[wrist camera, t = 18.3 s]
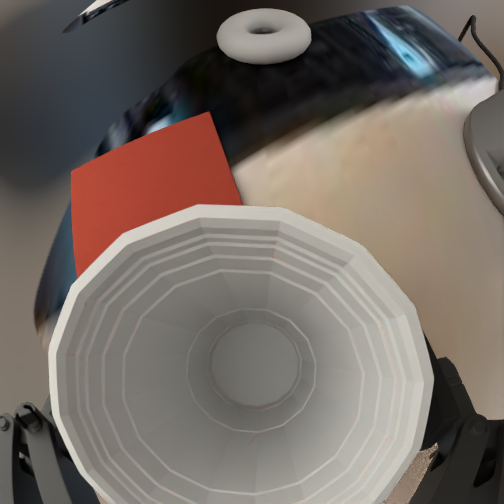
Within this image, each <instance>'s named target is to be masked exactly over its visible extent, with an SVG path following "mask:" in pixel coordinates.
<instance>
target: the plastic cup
mask: <svg viewBox="0 0 504 504" xmlns="http://www.w3.org/2000/svg"><path fill="white" fill-rule="evenodd" d="M48 360H49V384H50V397H51V408H52V415H53V418H54V420H55V422H56V425H57V427H58V429H59V432H60V434H61V436H62V439H63V441H64V443H65V445H66V447H67V449H68V451H69V453H70V455H71V457H72V459H73V461H74V463H75V465H76V467H77V469H78V471H79V472H80V474H81V475H82V476H83V477H84V479H85V480H86V481H87V482H88V483H89V484H90V485H91V486H92V487H93V488H94V489H95V490H96V491H97V492H98V493H99V494H100V495H101V496H102V497H103V498H104V499H105V500H106V501H107V502H108V503H109V504H382V503H383V502H384V500H385V499H386V498H387V496H388V495H389V494H390V493H391V491H392V490H393V489H394V487H395V486H396V485H397V483H398V482H399V480H400V479H401V478H402V476H403V475H404V473H405V472H406V470H407V469H408V467H409V466H410V464H411V463H412V461H413V460H414V458H415V456H416V455H417V453H418V452H419V450H420V448H421V446H422V442H423V437H424V433H425V429H426V424H427V419H428V414H429V409H430V403H431V397H432V391H433V384H434V375H433V371H432V366H431V362H430V358H429V354H428V350H427V346H426V342H425V339H424V335H423V331H422V328H421V324H420V321H419V318H418V314H417V311H416V308H415V306H414V304H413V303H412V302H411V301H410V299H409V298H408V297H407V296H406V295H405V293H404V292H403V291H402V290H401V288H400V287H399V286H398V285H397V284H396V283H395V281H394V280H393V279H392V278H391V277H390V275H389V274H388V273H387V272H386V271H385V270H384V269H383V267H382V266H381V265H380V264H379V263H378V262H377V261H376V259H375V258H374V257H373V256H372V255H371V254H370V253H369V252H368V250H367V249H366V248H365V247H364V246H363V245H362V244H360V243H358V242H356V241H354V240H352V239H350V238H348V237H346V236H344V235H342V234H340V233H338V232H335V231H333V230H331V229H329V228H327V227H325V226H323V225H321V224H319V223H316V222H314V221H312V220H310V219H308V218H306V217H303V216H301V215H299V214H297V213H295V212H292V211H290V210H288V209H286V208H281V207H261V206H236V205H201V204H197V205H195V206H192V207H189V208H187V209H184V210H181V211H178V212H176V213H173V214H171V215H168V216H165V217H163V218H160V219H158V220H155V221H152V222H150V223H147V224H145V225H142V226H140V227H137V228H135V229H132V230H130V231H127V232H125V233H123V234H122V235H121V236H120V237H119V238H118V239H116V240H115V241H114V242H113V243H112V244H111V245H110V246H109V247H108V248H107V249H106V250H105V251H104V252H103V253H102V254H101V255H100V256H99V257H98V258H97V259H96V260H95V261H94V262H93V263H92V264H91V265H90V266H89V267H88V268H87V270H86V271H85V272H84V273H83V274H82V275H81V276H80V277H79V278H78V279H77V280H76V281H75V282H74V283H73V284H72V286H71V288H70V291H69V293H68V295H67V298H66V300H65V303H64V306H63V308H62V311H61V314H60V316H59V319H58V322H57V325H56V327H55V330H54V333H53V336H52V339H51V342H50V345H49V349H48Z"/></svg>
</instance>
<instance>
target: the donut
mask: <svg viewBox="0 0 504 504" xmlns="http://www.w3.org/2000/svg"><path fill="white" fill-rule="evenodd" d="M263 33H266V34H263ZM217 41H218V45H219V47H220V49H221V50H222V51H223V52H224V53H225V54H226V55H228V56H229V57H231V58H233V59H236V60H238V61H241V62H245V63H250V64H274V63H281V62H284V61H288V60H291V59H293V58H295V57H297V56H299V55H300V54H302V53H303V52H304V51H305V50H306V49H307V47H308V46H309V44H310V42H311V31H310V28H309V27H308V25H307V24H306V23H305V21H304V20H302V19H301V18H300V17H298V16H296V15H295V14H292V13H289V12H287V11H282V10H276V9H255V10H249V11H245V12H241V13H238V14H236V15H234V16H232V17H230V18H229V19H227V20H226V21H225V22H224V23H223V24H222V25H221V27H220V29H219V31H218V33H217Z"/></svg>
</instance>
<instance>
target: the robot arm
mask: <svg viewBox="0 0 504 504" xmlns="http://www.w3.org/2000/svg"><path fill="white" fill-rule="evenodd" d="M475 23H476V17H475V16H474V15H472V16H471V17H470V18H469V20H468V21H467V23H466V25H465V27H464V28H463V30H462V32H461V34H460V36H459V38H458V41H459V42H460V43H461V41H462V39H463V38H464V36H465V34H466V32H467V30H468V28H469V27H470V25H471V33H472V36H473V38H474V40H475V41H476V43H477V44H478V45H479V47H480V48H481V49H482V50H483V51H484V52H485V53H486V55H487V56H488V57H489V58H490V59H491V60H492V62H493V63H494V64H495V66H496V67H497V69H498V71H499V73H500V81H499V92H497V93H496V94H494V95H492V96H491V97H489V98H488V99H486V100H484V101H482V102H480V103H479V104H478V105H476V106H475V107H474V108H473V110H472V111H471V113H470V114H469V115H468V117H467V118H466V121H465V124H464V141H465V146H466V149H467V153H468V156H469V159H470V161H471V164H472V166H473V168H474V171H475V173H476V175H477V177H478V179H479V181H480V182H481V184H482V186H483V188H484V189H485V191H486V193H487V194H488V196H489V197H490V199H491V200H492V202H493V203H494V204H495V206H496V207H497V208H498V210H499V211H500V212H501V213H502V214H503V215H504V70H503V68H502V67H501V65H500V63H499V62H498V61H497V59H496V58H495V57H494V56H493V55H492V54H491V53H490V51H489V50H488V49H487V48H486V47H485V46H484V45H483V43H482V42H481V41H480V40H479V38H478V37H477V35H476V31H475V30H476V27H475ZM422 331H423V330H422ZM423 335H424V339H425V342H426V346H427V350H428V354H429V358H430V362H431V366H432V371H433V375H434V384H433V391H432V397H431V403H430V409H429V414H428V419H427V424H426V429H425V433H424V437H423V442H422V446H421V448H420V450H419V451H422V450H425V449H428V448H431V447H432V446H433V445H434V444H435V443H436V442H437V444H438V448H437V449H436V450H435V451H434V452H433V453H432V454H431V455H430V456H429V458H430V459H431V458H432V457H433V459H432V461H431V463H430V465H429V467H428V469H427V471H426V473H425V475H424V477H423V479H422V481H421V483H420V484H419V486H418V488H417V490H416V492H415V493H414V495H413V497H412V499H411V500H410V502H409V504H504V419H503V420H487V419H486V418H485V417H484V416H482V415H480V414H477V413H476V411H475V409H474V407H473V405H472V402H471V400H470V398H469V396H468V393H467V391H466V389H465V387H464V384H462V380H461V378H460V376H459V374H458V372H457V370H456V368H455V366H454V364H453V363H452V362H451V361H450V360H449V359H448V358H447V357H444V358H439V359H437V358H436V356H435V354H434V352H433V350H432V348H431V346H430V344H429V342H428V340H427V338H426V336H425V334H424V332H423ZM19 452H21V453H22V456H21V458H20V457H19ZM0 504H100V502H99V500H98V498H97V496H96V493H95V491H94V489H93V487H92V486H91V485H90V484H89V483H88V482H87V481H86V480H85V479H84V477H83V476H82V475H81V474H80V472H79V471H78V469H77V467H76V465H75V463H74V461H73V459H72V457H71V455H70V453H69V451H68V449H67V447H66V445H65V443H64V441H63V439H62V436H61V434H60V432H59V429H58V427H57V425H56V422H55V420H54V418H53V415H52V408H51V397H50V394H49V396H48V398H47V401H46V402H45V405H44V406H43V409H42V411H41V412H40V411H39V410H38V409H37V408H36V407H35V406H34V405H33V404H32V403H28V402H26V403H22V404H21V405H19V406H18V407H17V409H16V411H15V413H14V418H13V417H12V416H11V415H10V414H7V413H5V414H2V415H1V416H0Z"/></svg>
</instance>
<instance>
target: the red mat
mask: <svg viewBox="0 0 504 504" xmlns="http://www.w3.org/2000/svg"><path fill="white" fill-rule="evenodd" d="M197 204H201V205H236V206H243V204H242V201H241V198H240V195H239V193H238V190H237V187H236V184H235V181H234V179H233V176H232V173H231V170H230V168H229V165H228V162H227V159H226V156H225V154H224V151H223V148H222V145H221V143H220V140H219V137H218V134H217V132H216V129H215V126H214V123H213V121H212V118H211V115H210V112H207V113H204V114H201V115H198V116H195V117H192V118H189V119H186V120H184V121H181V122H178V123H176V124H173V125H170V126H168V127H165V128H163V129H160V130H158V131H155V132H153V133H150V134H148V135H145V136H143V137H141V138H138V139H136V140H134V141H132V142H129V143H127V144H125V145H123V146H121V147H118V148H116V149H114V150H112V151H110V152H108V153H106V154H104V155H102V156H100V157H98V158H96V159H94V160H92V161H90V162H88V163H86V164H84V165H82V166H81V167H79V168H77V169H75V170H73V171H72V172H71V209H72V230H73V243H74V254H75V264H76V272H77V279H78V278H79V277H80V276H81V275H82V274H83V273H84V272H85V271H86V270H87V268H88V267H89V266H90V265H91V264H92V263H93V262H94V261H95V260H96V259H97V258H98V257H99V256H100V255H101V254H102V253H103V252H104V251H105V250H106V249H107V248H108V247H109V246H110V245H111V244H112V243H113V242H114V241H115V240H116V239H118V238H119V237H120V236H121V235H122V234H123V233H125V232H127V231H130V230H132V229H135V228H137V227H140V226H142V225H145V224H147V223H150V222H152V221H155V220H158V219H160V218H163V217H165V216H168V215H171V214H173V213H176V212H178V211H181V210H184V209H187V208H189V207H192V206H195V205H197Z"/></svg>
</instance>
